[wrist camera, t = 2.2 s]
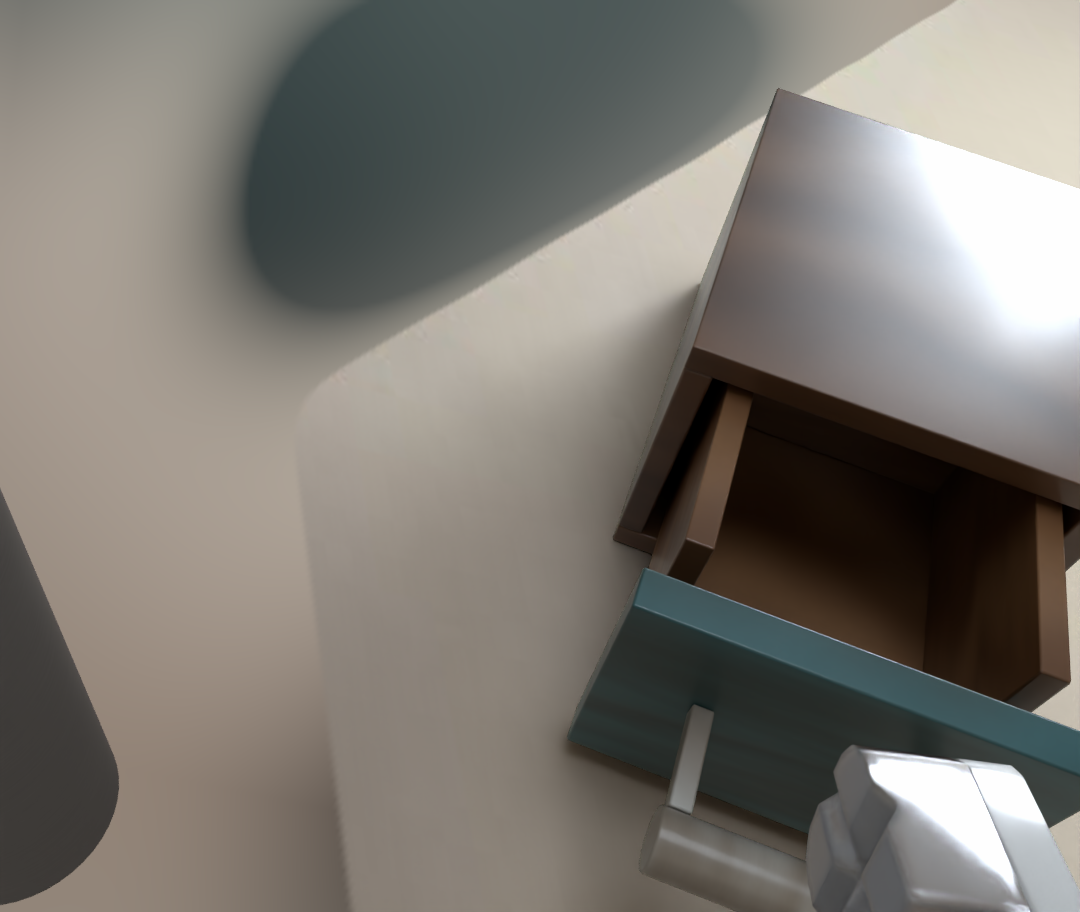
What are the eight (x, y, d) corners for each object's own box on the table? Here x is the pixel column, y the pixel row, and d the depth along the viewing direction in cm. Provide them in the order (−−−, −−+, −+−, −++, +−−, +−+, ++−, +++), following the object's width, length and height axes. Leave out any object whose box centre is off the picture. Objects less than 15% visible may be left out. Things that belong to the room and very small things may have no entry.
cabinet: (957, 669, 34) (1139, 506, 26) (611, 539, 35) (692, 345, 27) (969, 375, 44) (1102, 196, 36) (701, 280, 45) (777, 87, 37)
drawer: (938, 1058, 25) (1135, 999, 19) (517, 887, 26) (578, 778, 20) (960, 512, 37) (1084, 370, 31) (674, 408, 38) (741, 250, 32)
